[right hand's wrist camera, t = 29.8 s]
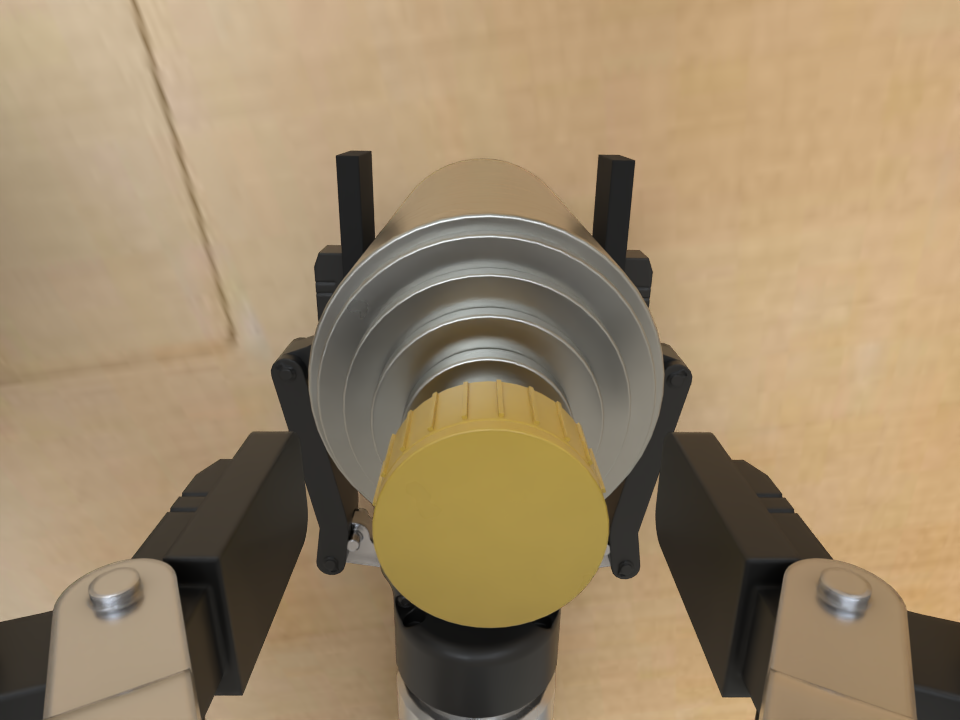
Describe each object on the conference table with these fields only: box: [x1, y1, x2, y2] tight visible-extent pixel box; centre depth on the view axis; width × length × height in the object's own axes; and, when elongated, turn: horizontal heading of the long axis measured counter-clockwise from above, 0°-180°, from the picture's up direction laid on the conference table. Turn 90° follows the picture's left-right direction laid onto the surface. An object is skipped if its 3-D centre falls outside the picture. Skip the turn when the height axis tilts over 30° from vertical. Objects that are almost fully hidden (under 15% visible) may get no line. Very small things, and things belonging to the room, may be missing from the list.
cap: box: [372, 380, 609, 628], centre depth 11 cm, size 4×4×2 cm
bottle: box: [308, 159, 664, 504], centre depth 21 cm, size 8×8×21 cm
